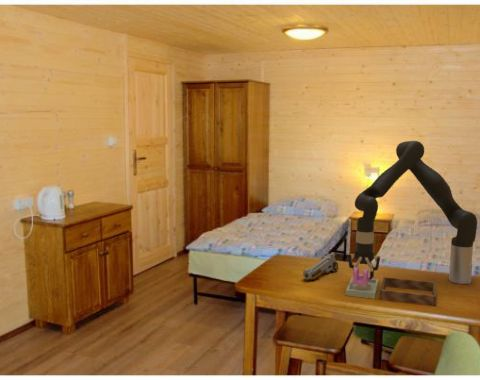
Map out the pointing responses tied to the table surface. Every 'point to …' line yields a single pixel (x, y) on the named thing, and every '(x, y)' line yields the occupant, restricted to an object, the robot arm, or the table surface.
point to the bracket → (361, 277)
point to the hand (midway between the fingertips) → (363, 278)
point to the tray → (363, 289)
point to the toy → (322, 267)
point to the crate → (406, 296)
